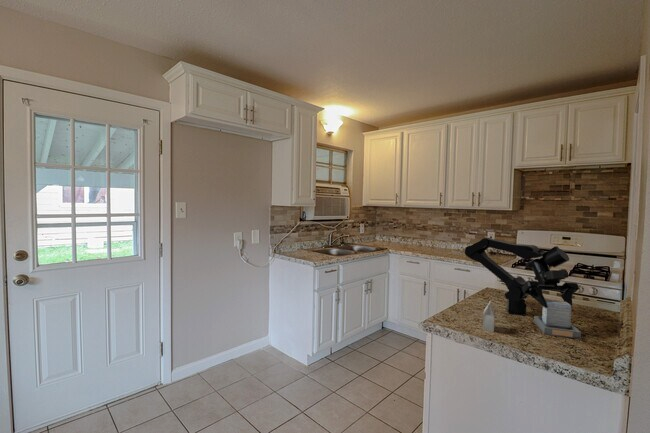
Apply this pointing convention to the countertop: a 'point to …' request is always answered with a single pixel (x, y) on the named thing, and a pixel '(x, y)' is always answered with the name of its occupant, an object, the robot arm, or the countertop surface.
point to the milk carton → (489, 318)
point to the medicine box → (557, 313)
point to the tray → (557, 329)
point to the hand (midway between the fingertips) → (558, 308)
